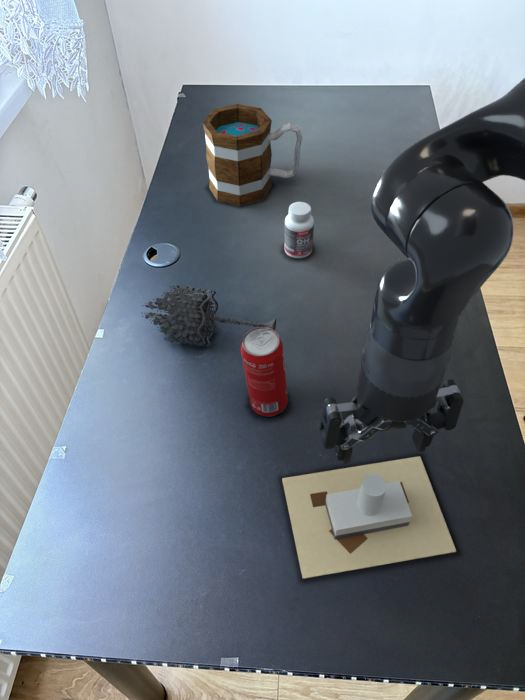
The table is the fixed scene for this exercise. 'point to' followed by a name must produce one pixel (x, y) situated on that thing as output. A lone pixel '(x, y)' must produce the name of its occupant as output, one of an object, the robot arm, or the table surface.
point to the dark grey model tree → (191, 315)
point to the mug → (243, 153)
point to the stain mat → (372, 548)
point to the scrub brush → (368, 508)
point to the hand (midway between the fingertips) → (381, 451)
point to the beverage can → (265, 371)
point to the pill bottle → (299, 230)
